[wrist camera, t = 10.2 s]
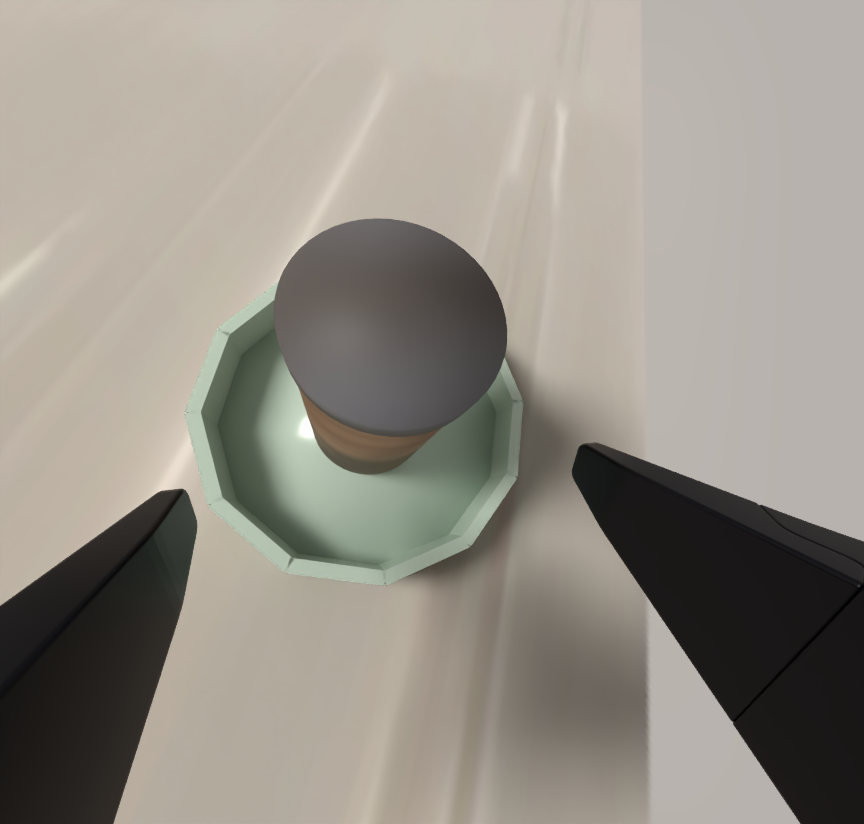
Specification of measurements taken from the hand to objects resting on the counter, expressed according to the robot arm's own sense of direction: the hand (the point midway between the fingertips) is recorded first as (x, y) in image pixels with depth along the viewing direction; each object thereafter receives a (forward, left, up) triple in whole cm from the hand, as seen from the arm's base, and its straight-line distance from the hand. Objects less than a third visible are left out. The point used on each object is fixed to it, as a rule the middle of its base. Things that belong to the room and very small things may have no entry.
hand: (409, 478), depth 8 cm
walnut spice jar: (+3, -2, -8) cm, 9 cm away
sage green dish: (+3, -2, -8) cm, 9 cm away
